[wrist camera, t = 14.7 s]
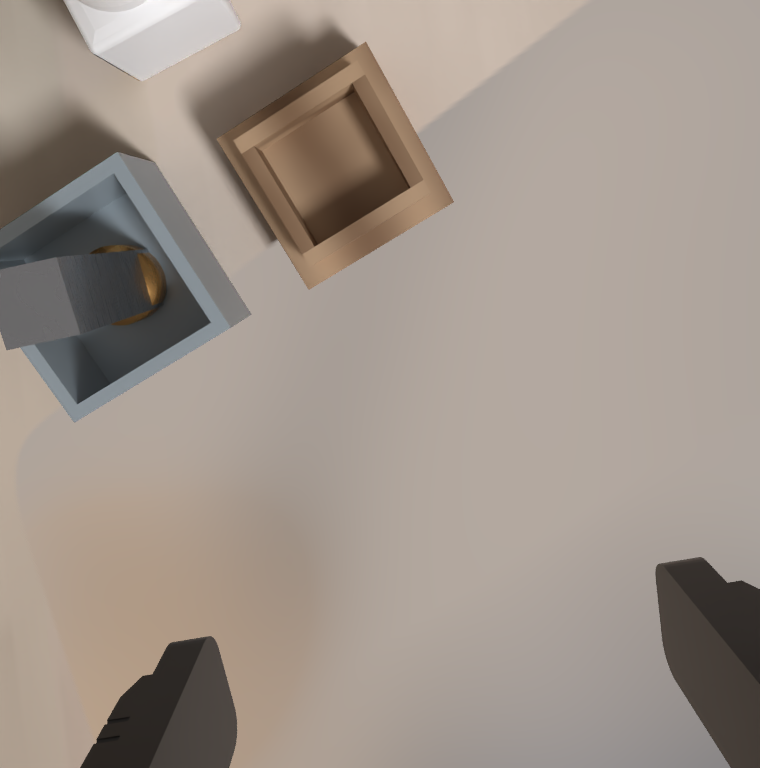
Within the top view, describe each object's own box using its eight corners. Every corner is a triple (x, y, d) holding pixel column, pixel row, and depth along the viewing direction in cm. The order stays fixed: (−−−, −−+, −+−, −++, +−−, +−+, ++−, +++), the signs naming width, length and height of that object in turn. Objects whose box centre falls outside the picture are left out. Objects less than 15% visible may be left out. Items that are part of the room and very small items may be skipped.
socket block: (367, 55, 40) (364, 28, 35) (449, 203, 42) (458, 200, 37) (228, 145, 42) (204, 132, 36) (314, 285, 44) (303, 293, 38)
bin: (154, 162, 42) (116, 151, 36) (251, 314, 44) (230, 327, 38) (14, 254, 43) (-44, 258, 38) (114, 397, 45) (74, 422, 40)
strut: (80, 253, 42) (-37, 263, 31) (154, 237, 42) (64, 240, 30) (103, 328, 43) (-2, 365, 32) (175, 312, 43) (96, 344, 31)
